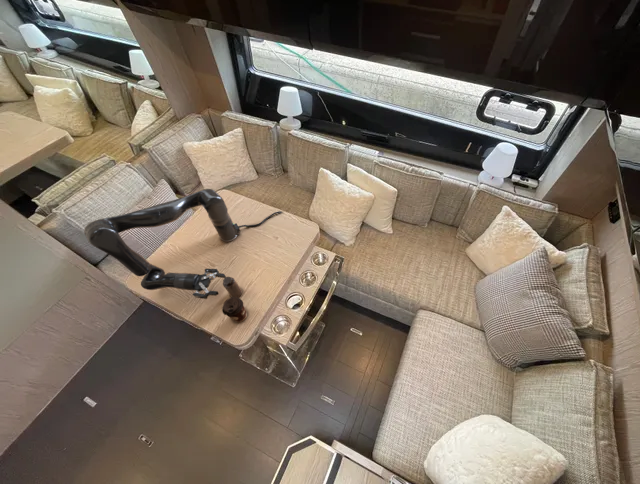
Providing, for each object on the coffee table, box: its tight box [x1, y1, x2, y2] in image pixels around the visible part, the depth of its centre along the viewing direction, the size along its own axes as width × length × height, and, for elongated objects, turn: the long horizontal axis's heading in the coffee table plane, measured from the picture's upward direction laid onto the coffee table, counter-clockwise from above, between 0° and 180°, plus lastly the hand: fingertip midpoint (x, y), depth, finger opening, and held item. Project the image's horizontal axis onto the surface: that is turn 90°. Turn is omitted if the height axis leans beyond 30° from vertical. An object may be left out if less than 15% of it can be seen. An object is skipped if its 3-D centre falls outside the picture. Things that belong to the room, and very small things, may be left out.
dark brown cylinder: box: [221, 297, 248, 323], centre depth 123 cm, size 9×8×13 cm
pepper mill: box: [222, 276, 243, 298], centre depth 130 cm, size 5×5×14 cm
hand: (221, 284), depth 129 cm, fingers open, 8 cm apart
